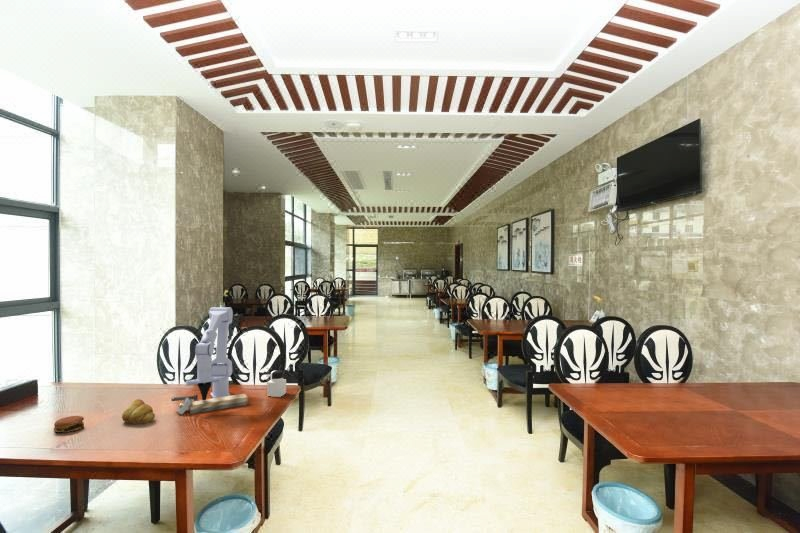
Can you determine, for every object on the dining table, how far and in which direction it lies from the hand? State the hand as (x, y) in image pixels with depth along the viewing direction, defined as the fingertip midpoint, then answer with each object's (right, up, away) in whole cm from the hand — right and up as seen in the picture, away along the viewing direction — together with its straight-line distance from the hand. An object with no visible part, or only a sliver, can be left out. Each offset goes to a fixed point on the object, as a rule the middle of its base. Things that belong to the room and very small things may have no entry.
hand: (204, 399), depth 189 cm
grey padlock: (+26, -5, +23) cm, 35 cm away
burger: (-41, -4, -24) cm, 48 cm away
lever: (-9, -4, 0) cm, 10 cm away
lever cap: (-6, -2, -4) cm, 7 cm away
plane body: (+5, -4, +3) cm, 7 cm away
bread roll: (-19, -4, -16) cm, 25 cm away
